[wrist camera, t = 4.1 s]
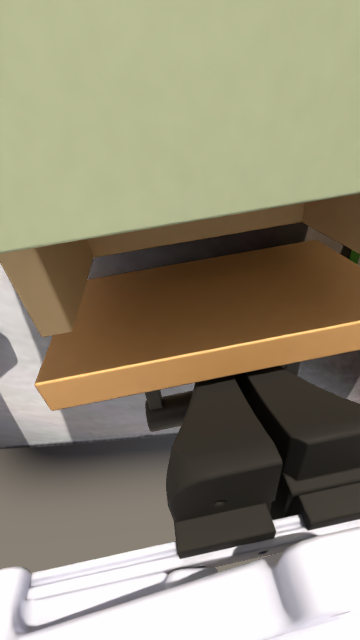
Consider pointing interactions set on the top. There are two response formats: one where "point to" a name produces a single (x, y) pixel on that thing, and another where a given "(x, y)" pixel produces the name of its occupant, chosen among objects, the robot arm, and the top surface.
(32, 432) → the top surface
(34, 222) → the cabinet
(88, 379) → the drawer
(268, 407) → the robot arm
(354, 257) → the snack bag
